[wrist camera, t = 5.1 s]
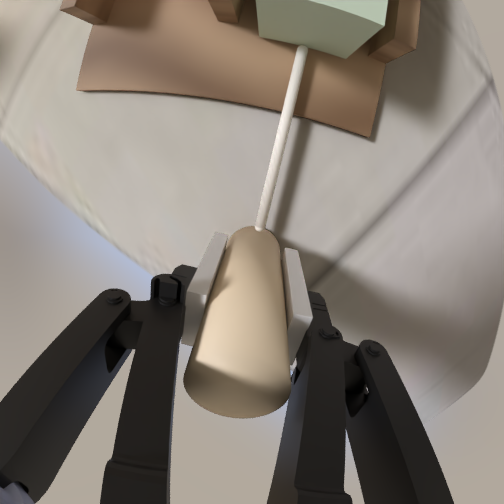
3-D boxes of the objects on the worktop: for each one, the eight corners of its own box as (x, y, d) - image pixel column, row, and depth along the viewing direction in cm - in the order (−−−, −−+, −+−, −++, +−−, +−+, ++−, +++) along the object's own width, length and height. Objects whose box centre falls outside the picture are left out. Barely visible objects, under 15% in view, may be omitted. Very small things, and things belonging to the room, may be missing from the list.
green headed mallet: (276, -21, 11) (282, -140, 1) (355, 0, 11) (431, -94, 1) (210, 266, 19) (159, 400, 9) (284, 282, 19) (295, 426, 9)
